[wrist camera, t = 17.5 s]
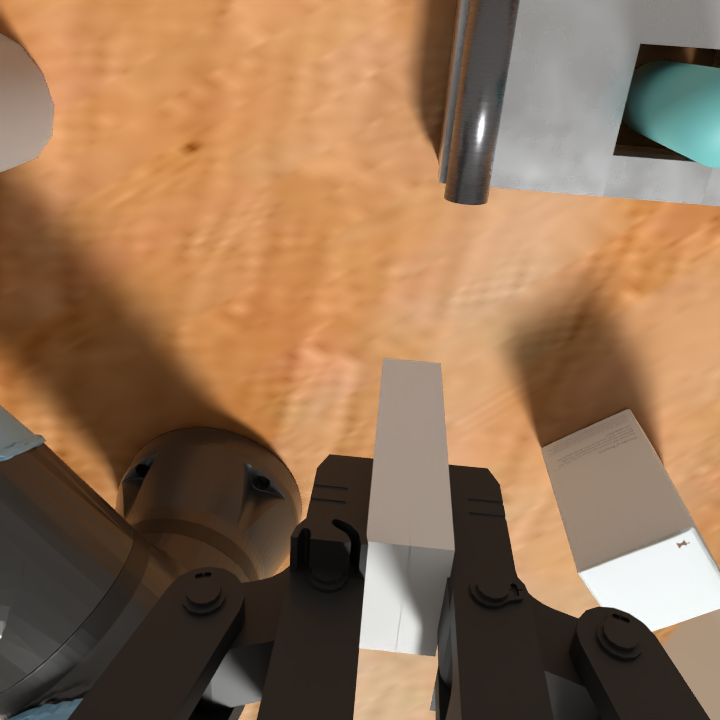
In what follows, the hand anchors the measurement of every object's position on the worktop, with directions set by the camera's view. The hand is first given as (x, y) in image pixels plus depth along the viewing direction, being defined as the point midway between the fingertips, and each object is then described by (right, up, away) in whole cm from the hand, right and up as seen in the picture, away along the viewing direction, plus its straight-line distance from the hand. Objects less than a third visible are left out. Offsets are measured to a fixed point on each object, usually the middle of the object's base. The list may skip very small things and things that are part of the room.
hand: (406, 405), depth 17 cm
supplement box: (+18, -7, +32) cm, 37 cm away
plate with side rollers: (+16, +16, +20) cm, 30 cm away
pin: (+16, +16, +20) cm, 30 cm away
